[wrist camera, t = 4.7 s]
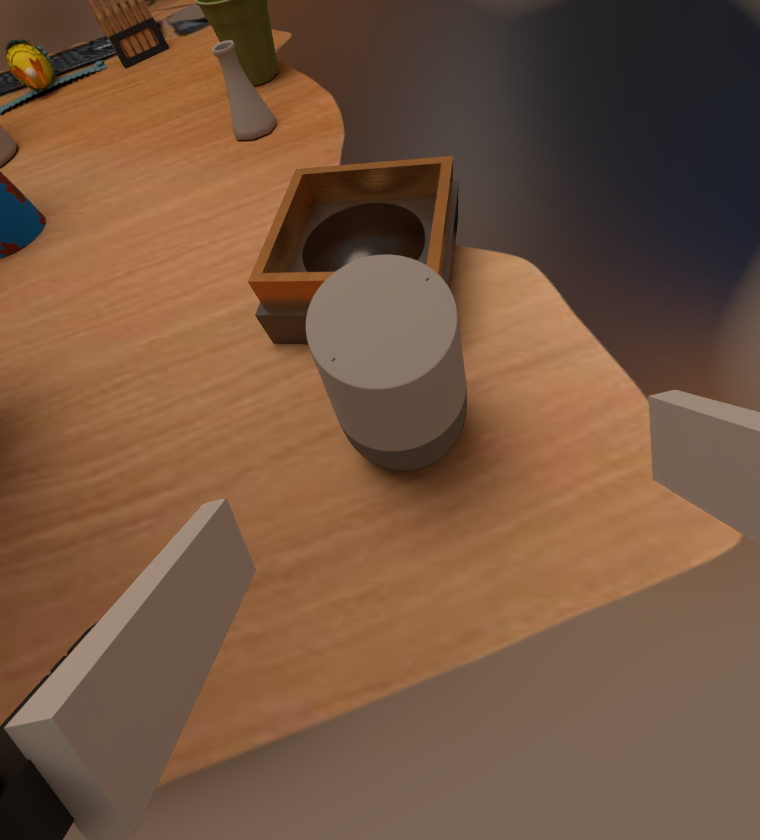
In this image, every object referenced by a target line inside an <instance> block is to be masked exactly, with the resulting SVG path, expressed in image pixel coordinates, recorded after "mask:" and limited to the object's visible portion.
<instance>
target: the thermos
mask: <svg viewBox="0 0 760 840" xmlns="http://www.w3.org/2000/svg"><path fill="white" fill-rule="evenodd" d="M44 225H45V217H44V216H43V215H42V214H41V213H40V212H39V211H38V210H37V208H36V207H35V206H34V205H33V204H32V203H31V202H30V201H29V200H28V199H27V198H26V197H25V196H24V195H23V193H22V192H21V191H20V190H19V189H18V188H17V187H16V186H15V185H14V184H12V183H11V182H10V181H9V180H8V179H7V178H6V177H5V176H4V175H3V174H2V173H1V172H0V258H3V257H5V256H8V255H11V254H13V253H15V252H17V251H19V250H20V249H22V248H24V247H25V246H27V245H28V244H29V243H30V242H32V241H33V240H34V239H35V238H36V237H37V236H38V235H39V234H40V232H41V231H42V229H43V227H44Z"/></svg>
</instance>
